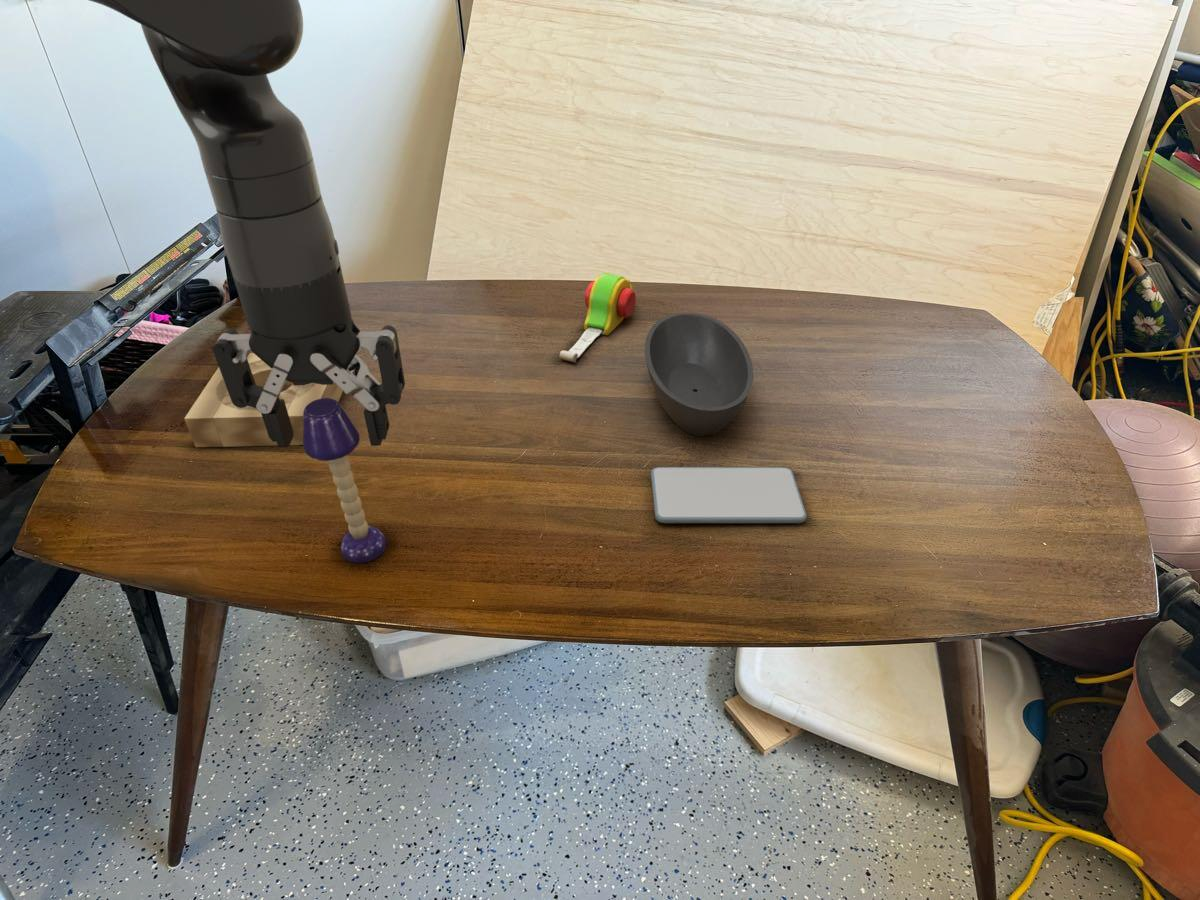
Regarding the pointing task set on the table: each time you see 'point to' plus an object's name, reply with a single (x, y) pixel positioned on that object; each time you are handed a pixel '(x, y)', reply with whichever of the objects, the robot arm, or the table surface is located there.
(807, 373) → the table surface
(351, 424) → the toy lamp
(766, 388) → the table surface
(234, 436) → the socket base
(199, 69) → the robot arm
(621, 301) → the toy measuring tape
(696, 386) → the bowl
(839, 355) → the table surface
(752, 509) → the smartphone
